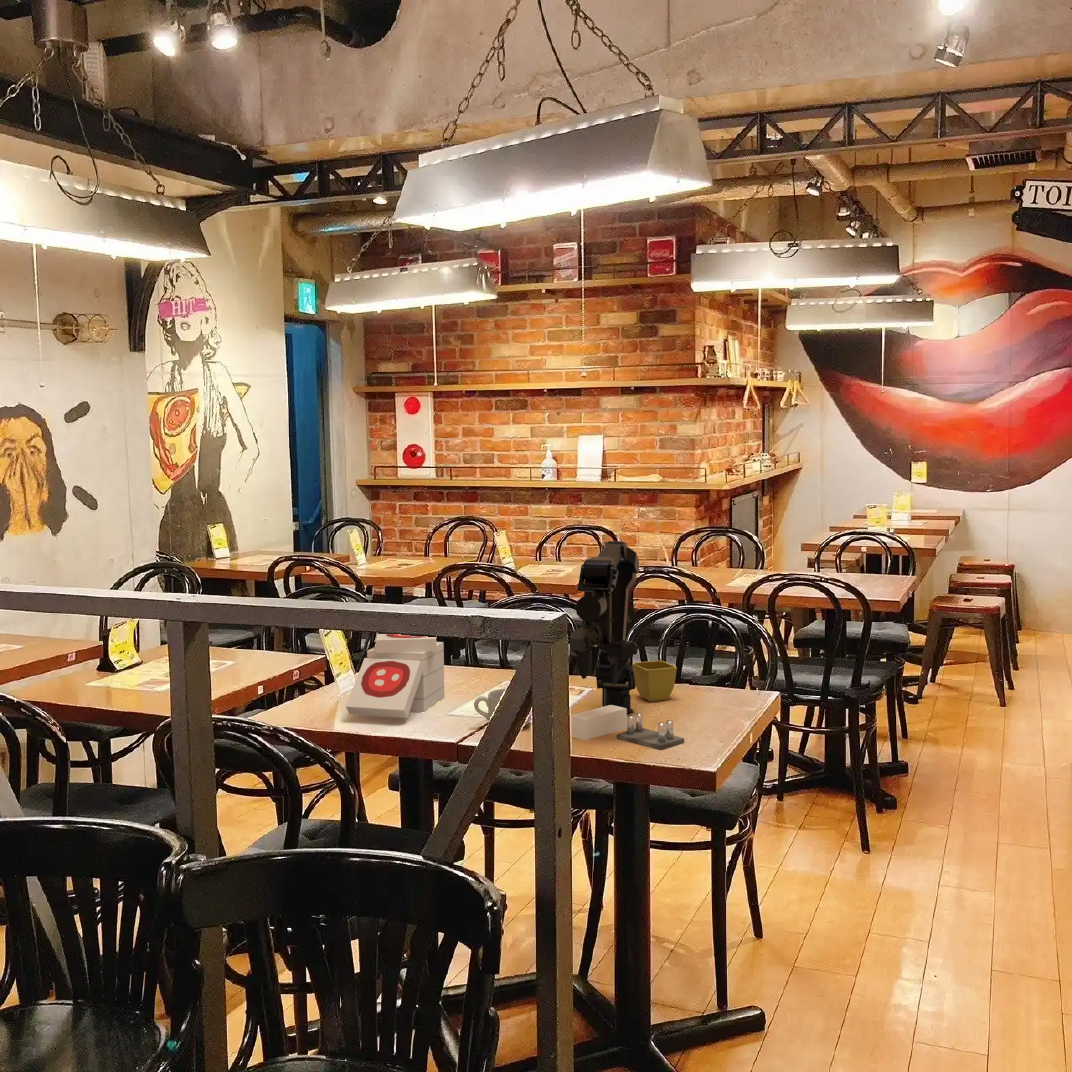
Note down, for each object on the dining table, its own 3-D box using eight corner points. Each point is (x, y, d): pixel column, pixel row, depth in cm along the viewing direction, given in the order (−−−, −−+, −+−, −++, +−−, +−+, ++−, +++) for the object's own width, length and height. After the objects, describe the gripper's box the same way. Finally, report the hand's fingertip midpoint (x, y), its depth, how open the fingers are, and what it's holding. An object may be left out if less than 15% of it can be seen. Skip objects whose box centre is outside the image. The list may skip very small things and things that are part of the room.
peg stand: (616, 738, 254) (616, 716, 254) (639, 731, 260) (639, 710, 259) (661, 750, 245) (661, 727, 244) (684, 742, 250) (684, 720, 250)
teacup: (533, 720, 271) (532, 687, 270) (534, 732, 260) (534, 698, 259) (474, 721, 270) (474, 688, 269) (473, 733, 259) (473, 699, 258)
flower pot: (677, 701, 288) (677, 666, 287) (647, 704, 285) (647, 669, 284) (661, 693, 296) (661, 660, 295) (631, 697, 293) (631, 662, 292)
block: (585, 741, 253) (585, 719, 252) (569, 737, 257) (569, 715, 256) (626, 729, 263) (626, 708, 262) (610, 725, 266) (610, 704, 266)
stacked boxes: (339, 721, 270) (337, 647, 269) (387, 693, 299) (386, 625, 297) (413, 726, 265) (412, 651, 264) (455, 697, 294) (454, 628, 292)
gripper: (544, 613, 258) (545, 681, 259) (605, 623, 245) (605, 694, 246) (578, 608, 266) (578, 673, 267) (638, 617, 252) (638, 685, 254)
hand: (598, 681), depth 258 cm, fingers open, 9 cm apart
